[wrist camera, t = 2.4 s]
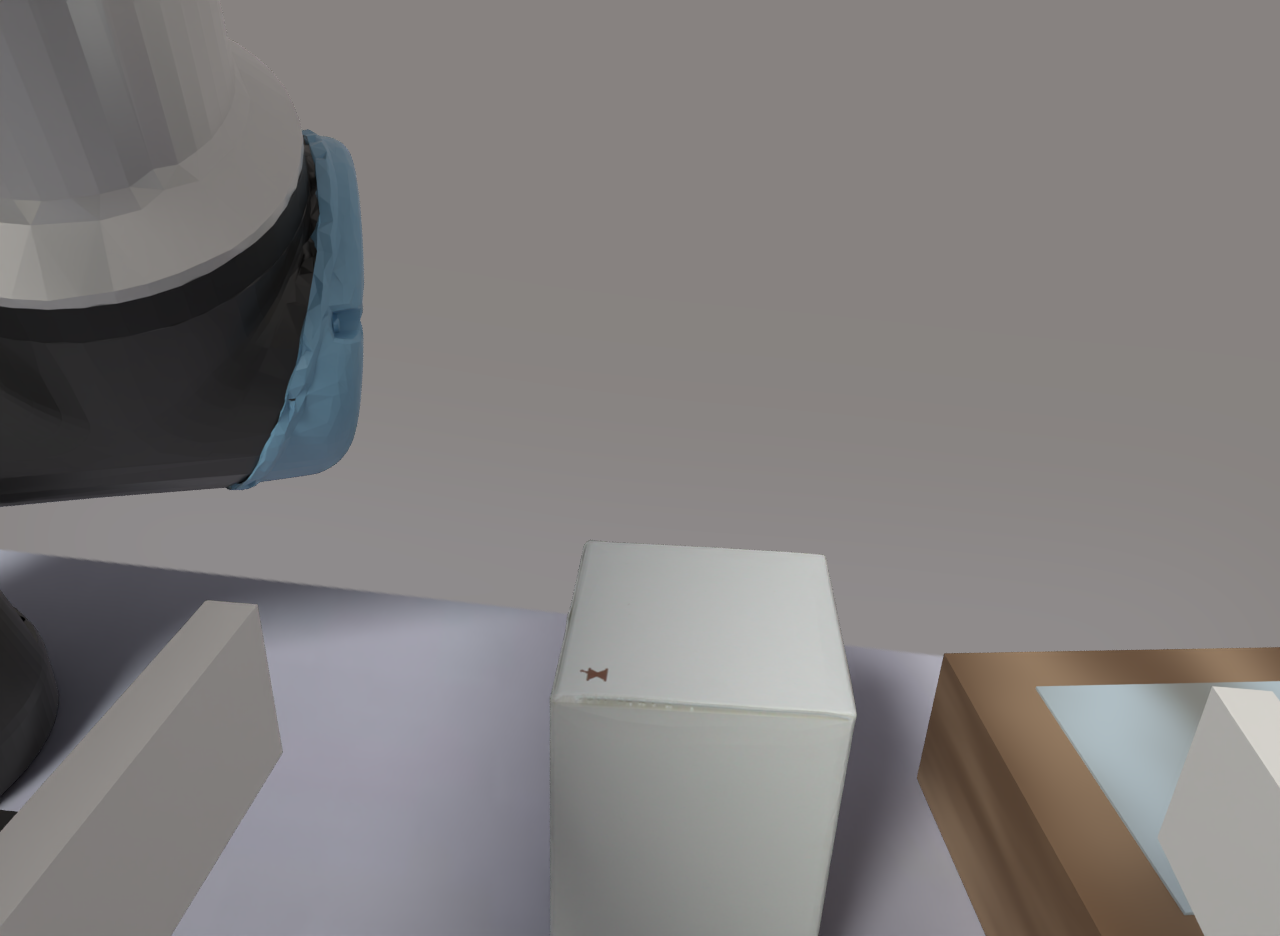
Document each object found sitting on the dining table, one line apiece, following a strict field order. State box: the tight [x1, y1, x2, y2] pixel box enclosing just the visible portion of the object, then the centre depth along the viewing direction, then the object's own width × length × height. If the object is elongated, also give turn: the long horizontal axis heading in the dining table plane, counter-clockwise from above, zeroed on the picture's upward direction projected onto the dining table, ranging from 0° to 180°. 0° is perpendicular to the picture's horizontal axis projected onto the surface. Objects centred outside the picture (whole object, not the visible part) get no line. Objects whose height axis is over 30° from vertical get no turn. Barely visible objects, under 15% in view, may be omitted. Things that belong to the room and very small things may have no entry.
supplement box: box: [550, 540, 857, 936], centre depth 28 cm, size 7×7×13 cm
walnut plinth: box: [917, 647, 1280, 936], centre depth 31 cm, size 14×13×6 cm
